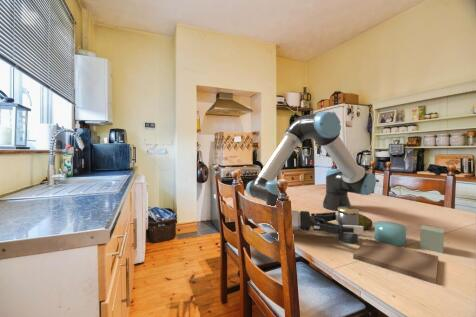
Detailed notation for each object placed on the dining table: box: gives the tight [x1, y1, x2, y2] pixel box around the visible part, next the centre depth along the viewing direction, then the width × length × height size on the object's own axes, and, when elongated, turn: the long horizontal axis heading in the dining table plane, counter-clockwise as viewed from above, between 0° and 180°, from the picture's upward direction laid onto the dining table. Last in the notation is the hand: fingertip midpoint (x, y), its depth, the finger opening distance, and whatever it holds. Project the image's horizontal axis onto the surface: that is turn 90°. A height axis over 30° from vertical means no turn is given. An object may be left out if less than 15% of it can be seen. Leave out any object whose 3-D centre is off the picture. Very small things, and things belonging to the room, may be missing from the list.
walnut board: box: [352, 238, 439, 285], centre depth 71 cm, size 20×16×2 cm
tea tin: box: [337, 206, 360, 245], centre depth 86 cm, size 7×7×12 cm
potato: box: [358, 213, 373, 230], centre depth 99 cm, size 8×13×8 cm, turn 53°
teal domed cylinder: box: [374, 220, 407, 247], centre depth 85 cm, size 10×10×6 cm
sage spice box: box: [419, 224, 445, 254], centre depth 78 cm, size 6×5×7 cm
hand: (357, 224), depth 85 cm, fingers open, 12 cm apart
